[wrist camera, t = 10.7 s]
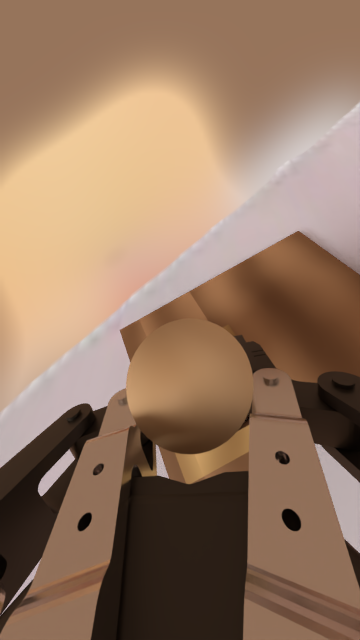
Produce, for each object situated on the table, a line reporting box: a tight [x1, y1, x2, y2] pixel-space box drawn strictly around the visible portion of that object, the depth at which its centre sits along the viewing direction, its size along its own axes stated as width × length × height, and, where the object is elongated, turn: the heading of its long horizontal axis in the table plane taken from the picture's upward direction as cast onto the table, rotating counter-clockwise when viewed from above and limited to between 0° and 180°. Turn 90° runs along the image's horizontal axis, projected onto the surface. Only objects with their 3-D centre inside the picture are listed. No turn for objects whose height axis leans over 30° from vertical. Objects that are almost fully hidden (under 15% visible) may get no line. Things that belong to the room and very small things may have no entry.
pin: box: [126, 319, 254, 454], centre depth 10 cm, size 4×4×9 cm
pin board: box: [120, 231, 360, 484], centre depth 16 cm, size 20×14×3 cm
